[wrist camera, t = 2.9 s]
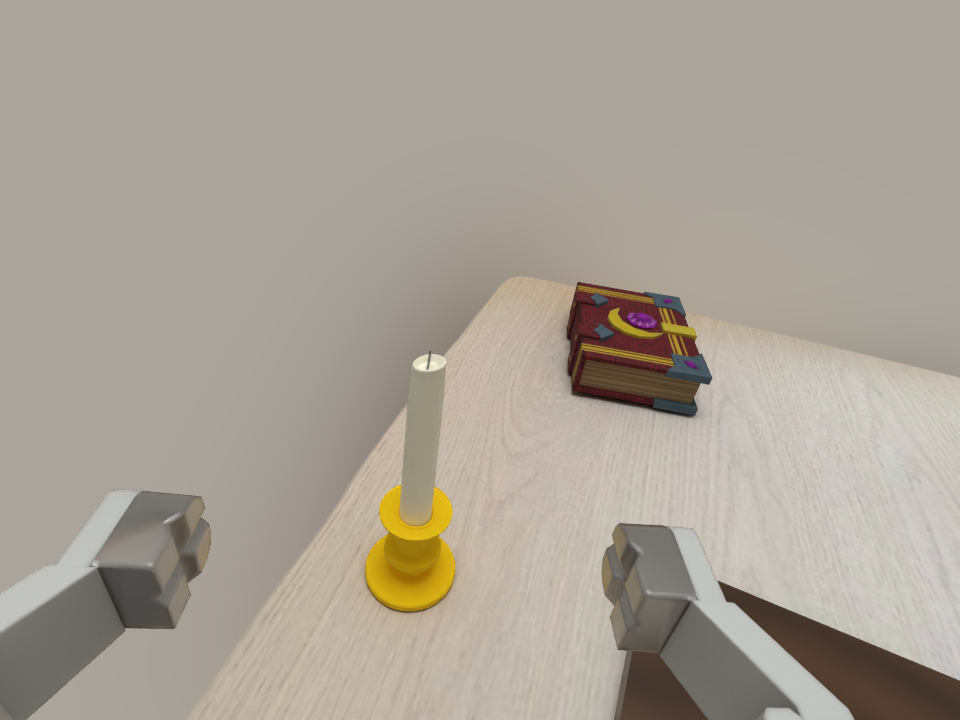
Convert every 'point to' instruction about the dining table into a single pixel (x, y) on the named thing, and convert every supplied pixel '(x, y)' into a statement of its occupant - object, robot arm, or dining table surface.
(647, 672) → the board
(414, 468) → the candle
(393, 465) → the dining table surface
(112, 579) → the robot arm
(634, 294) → the decorative book
